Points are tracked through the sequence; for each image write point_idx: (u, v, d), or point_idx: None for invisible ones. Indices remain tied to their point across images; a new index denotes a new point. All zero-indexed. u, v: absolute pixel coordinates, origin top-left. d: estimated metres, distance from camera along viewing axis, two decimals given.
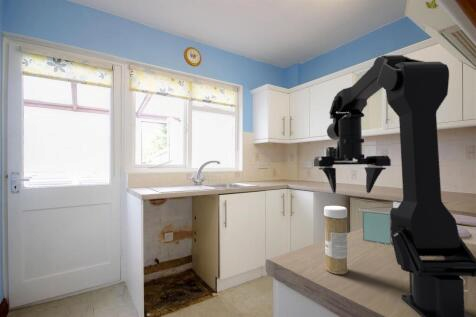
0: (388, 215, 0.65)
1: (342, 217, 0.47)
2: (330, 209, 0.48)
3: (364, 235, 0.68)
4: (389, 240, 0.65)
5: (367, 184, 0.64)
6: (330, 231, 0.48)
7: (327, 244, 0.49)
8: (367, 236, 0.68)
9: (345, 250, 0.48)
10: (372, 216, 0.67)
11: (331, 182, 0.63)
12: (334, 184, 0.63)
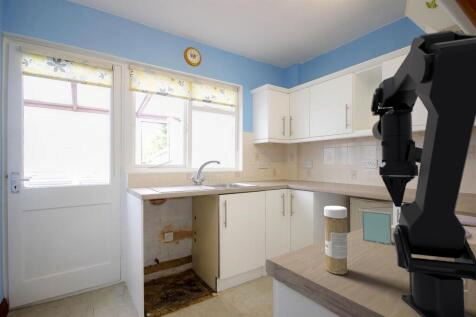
0: (388, 215, 0.65)
1: (342, 217, 0.47)
2: (330, 209, 0.48)
3: (364, 235, 0.68)
4: (389, 240, 0.65)
5: None
6: (330, 231, 0.48)
7: (327, 244, 0.49)
8: (367, 236, 0.68)
9: (345, 250, 0.48)
10: (372, 216, 0.67)
11: None
12: None
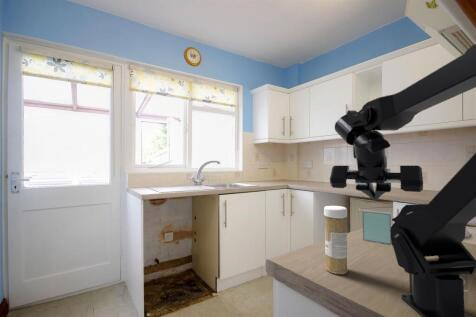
0: (388, 215, 0.65)
1: (342, 217, 0.47)
2: (330, 209, 0.48)
3: (364, 235, 0.68)
4: (389, 240, 0.65)
5: (375, 192, 0.59)
6: (330, 231, 0.48)
7: (327, 244, 0.49)
8: (367, 236, 0.68)
9: (345, 250, 0.48)
10: (372, 216, 0.67)
11: None
12: (372, 196, 0.58)
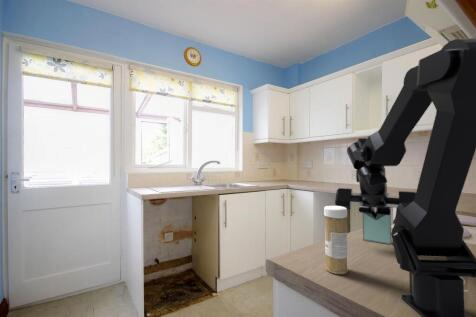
0: (388, 215, 0.65)
1: (342, 217, 0.47)
2: (330, 209, 0.48)
3: (364, 235, 0.68)
4: (389, 240, 0.65)
5: (375, 213, 0.65)
6: (330, 231, 0.48)
7: (327, 244, 0.49)
8: (367, 236, 0.68)
9: (345, 250, 0.48)
10: None
11: None
12: (373, 216, 0.64)
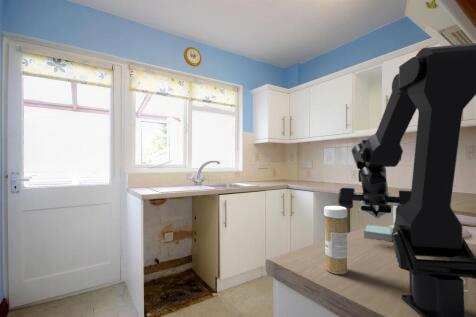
0: (388, 227, 0.74)
1: (342, 217, 0.47)
2: (330, 209, 0.48)
3: (365, 230, 0.71)
4: (389, 233, 0.68)
5: (377, 211, 0.68)
6: (330, 231, 0.48)
7: (327, 244, 0.49)
8: (368, 230, 0.71)
9: (345, 250, 0.48)
10: (374, 226, 0.75)
11: None
12: (374, 215, 0.68)
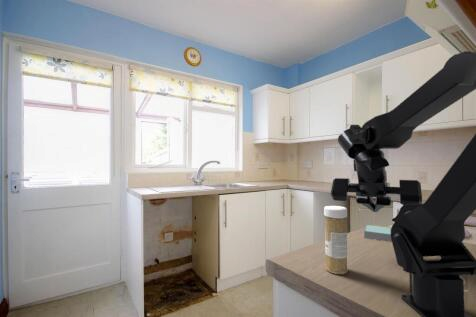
0: (388, 227, 0.74)
1: (342, 217, 0.47)
2: (330, 209, 0.48)
3: (366, 230, 0.71)
4: (389, 233, 0.68)
5: (375, 205, 0.60)
6: (330, 231, 0.48)
7: (327, 244, 0.49)
8: (368, 230, 0.71)
9: (345, 250, 0.48)
10: (374, 226, 0.75)
11: None
12: (372, 208, 0.60)
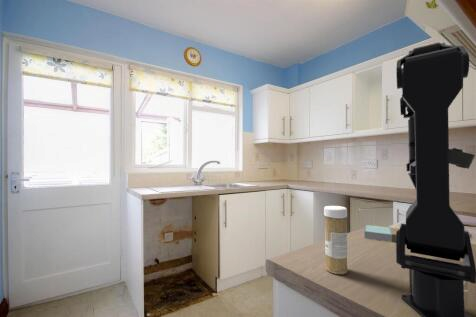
0: (388, 227, 0.74)
1: (342, 217, 0.47)
2: (330, 209, 0.48)
3: (366, 230, 0.71)
4: (390, 233, 0.68)
5: None
6: (330, 231, 0.48)
7: (327, 244, 0.49)
8: (369, 230, 0.71)
9: (345, 250, 0.48)
10: (374, 226, 0.75)
11: None
12: None
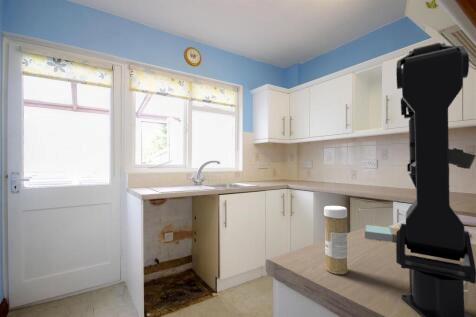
0: (388, 227, 0.74)
1: (342, 217, 0.47)
2: (330, 209, 0.48)
3: (366, 230, 0.71)
4: (390, 233, 0.68)
5: None
6: (330, 231, 0.48)
7: (327, 244, 0.49)
8: (369, 230, 0.71)
9: (345, 250, 0.48)
10: (374, 226, 0.75)
11: None
12: None
